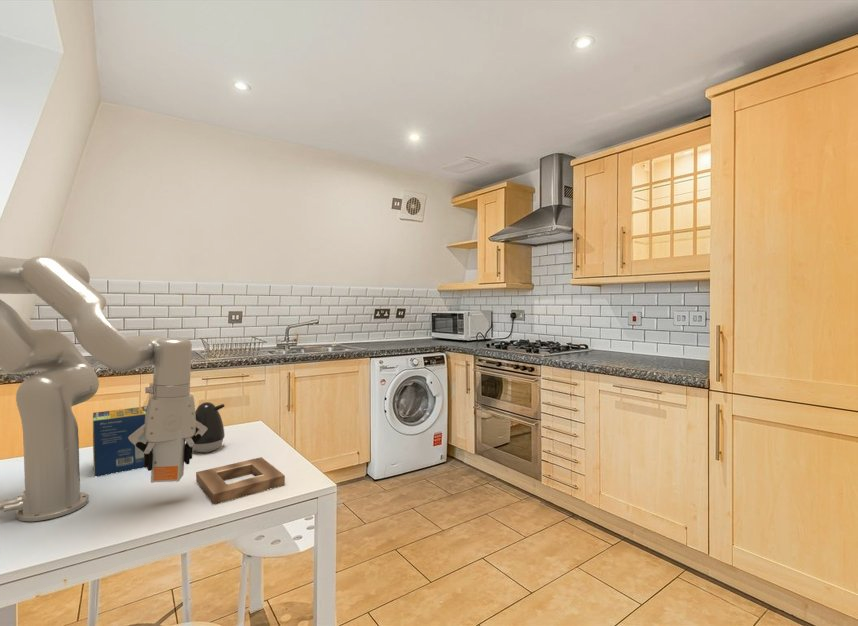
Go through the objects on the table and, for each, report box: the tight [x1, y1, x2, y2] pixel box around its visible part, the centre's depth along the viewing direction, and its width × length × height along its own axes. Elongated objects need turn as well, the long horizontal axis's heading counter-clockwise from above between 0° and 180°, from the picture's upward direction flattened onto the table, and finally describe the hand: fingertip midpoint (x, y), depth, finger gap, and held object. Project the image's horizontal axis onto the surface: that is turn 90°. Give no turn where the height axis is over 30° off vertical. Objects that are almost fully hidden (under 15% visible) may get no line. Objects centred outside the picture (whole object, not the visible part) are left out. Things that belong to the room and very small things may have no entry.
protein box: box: [92, 405, 153, 477], centre depth 127 cm, size 10×15×16 cm
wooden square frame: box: [195, 456, 286, 505], centre depth 115 cm, size 17×17×3 cm
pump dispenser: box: [193, 401, 225, 454], centre depth 140 cm, size 10×10×15 cm
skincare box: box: [150, 431, 186, 484], centre depth 104 cm, size 6×4×12 cm
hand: (168, 465), depth 104 cm, fingers closed on skincare box, 7 cm apart
